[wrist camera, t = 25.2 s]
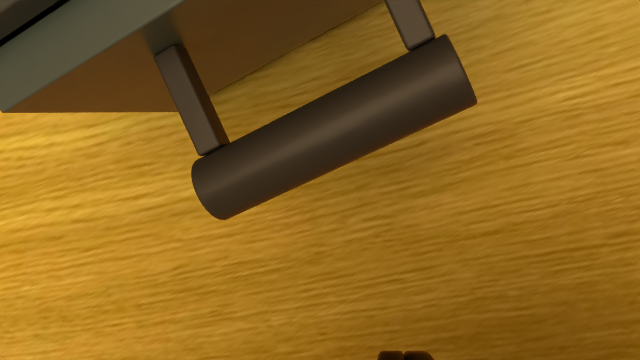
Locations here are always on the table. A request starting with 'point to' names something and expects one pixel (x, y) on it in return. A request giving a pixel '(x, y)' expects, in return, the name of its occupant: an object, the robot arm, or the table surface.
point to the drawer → (225, 68)
